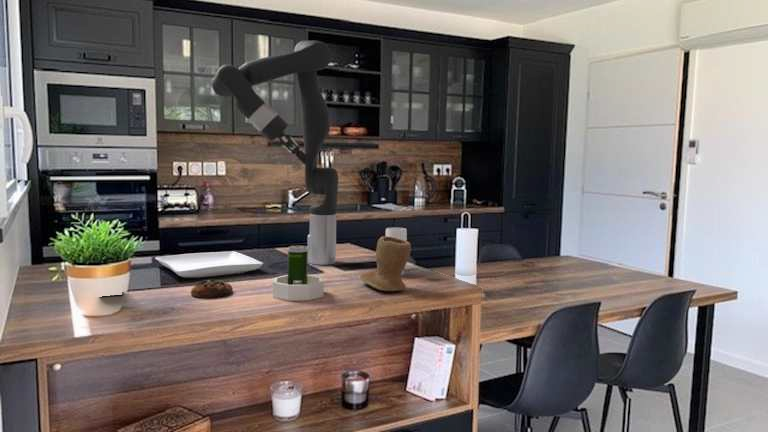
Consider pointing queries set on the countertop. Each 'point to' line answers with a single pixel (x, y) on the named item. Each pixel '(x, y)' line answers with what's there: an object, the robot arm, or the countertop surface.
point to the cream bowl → (298, 288)
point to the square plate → (209, 264)
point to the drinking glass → (397, 234)
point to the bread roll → (211, 289)
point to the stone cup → (389, 264)
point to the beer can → (297, 265)
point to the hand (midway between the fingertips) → (307, 161)
